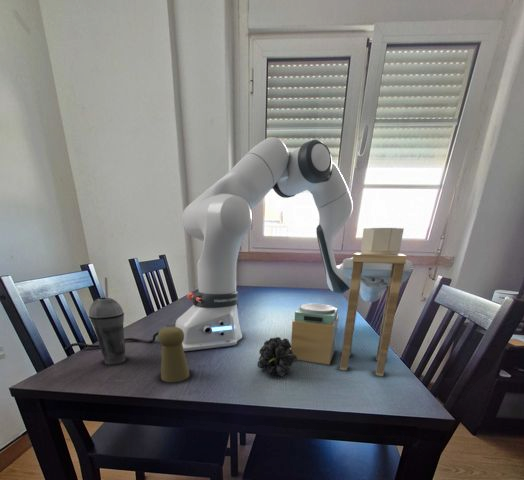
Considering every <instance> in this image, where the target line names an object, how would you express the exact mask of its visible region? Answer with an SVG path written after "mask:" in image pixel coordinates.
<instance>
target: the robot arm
mask: <svg viewBox="0 0 524 480" xmlns="http://www.w3.org/2000/svg"><path fill="white" fill-rule="evenodd" d="M272 189H273V191H274V192H275V193H276V194H277V195H278V197H281V198H284V199H289V198H294V197H295V196H297V195H299V194H302V193H304V192H305V191H308V192H309V193H310V194H311V196H312V199H313V201H314V204H315V206H316V209H317V212H318V218H319V219H318V225H317V227H316V232H315V233H316V239H317V243H318V247H319V251H320V255H321V260H322V262H323V267H324V272H325V277H326V278H325V279H326V284H327V286H328V288H329V289H330V291H331V292H332V293H334V294H339V295H343V294H344V293H346V292H348V291H350V285H351V277H352V270H353V262H352V261H353V256H352V257H350V258H349V257H348V258H347V257H346V258H344V259H343V260H342V263H340V264H339V265H337V261H336V256H335V252H334V248H333V243H334V240H335V238H336V236H337V235H338V233H339V232H340V231H341V230H342V228H343V227H344V226H345V225H346V224H347V222H348V221H349V219H350V218H351V216H352V213H353V209H354V208H353V207H354V204H353V203H354V202H353V198H352V196H351V192H350V190H349V187H348V185H347V182H346V181H345V178H344V176H343V174H342V173H341V171H340V169H339V167H338V166H337V165H336V164H335V163H334V162H333V158H332V153H331V151H330V149H329V148H328V146H327V145H326V144H325V143H324V142H323V141H321V140H320V139H311V140H308V141H306V142H304V143H303V144H302V145H301V146H300V147H297V148H296V149H295V150H293V151H292V152H291V151H289V150H288V148H287V146H286V144H285V143H284V142H283V141H282V140H281V139H280V138H278V137H274V136H269V137H267V138H265V139H263V140H261V141H259V143H257V144H256V145H255V146H253V147H252V148H251V149H250V150H249V151H248V152H246V153H245V155H243V156H242V158H241V159H240V160H239V161H238V162H237V163H236V164H235V165H234V166H233V167H232V168H231V169H230V170H229V171H227V173H226V174H225V175H223V176H222V177H221V178H220V179H218V180H217V181H215V182H214V183H213V184H212V185H210V187H208V188H207V189H206V190H205V191H204V192H202V193H201V194H200V195H199V196H197V197H196V198H195V199H194V200H193V201H191V202H190V203H189V204H188V205H187V206H186V207H185V208H184V210H183V212H182V219H181V220H182V221H181V222H182V225H183V228H184V229H185V231H186V232H187V234H188V235H190V236H191V237H193V238H194V239H197V240H199V241H202V242H203V244H202V249H201V254H200V257H199V259H198V261H197V264H196V271H197V272H196V273H197V274H196V275H197V287H198V288H197V289H198V291H197V292H196V293H192V292H188V293H187V295H186V298H187V299H188V300H190V301H192V306H190V307H189V308H188V309H186V311H185V312H183V314H181V315H180V316H179V317H178V318H177V319H176V321H175V323H170V324H166V327H165V328H167V327H178V328H180V329H181V330H182V331H183V333H184V340H183V342H182V345H183V349H184V352H189V351H197V350H198V351H199V350H207V349H208V350H209V349H216V348H223V347H232V346H236V345H237V343H238V341H240V340H241V339H242V338H243V332H242V330H241V326H240V322H239V321H240V320H239V313H238V312H239V311H238V309H239V292H238V291H237V265H238V257H239V253H240V250H241V246H242V243H243V240H244V238H245V236H246V235H247V234H248V233H249V231H250V230H251V228H252V224H253V213H252V210H254V209H255V208H256V207H257V206H258V204H259V203H260V202H261V201H262V200H263V199H264V198H265V197H266V196H267V194H268V193H270V192H271V190H272ZM391 268H392V263H370V262H363V268H362V276H361V283H360V290H359V296H360V297H361V299H362V300H363V301H364V302H367V303H374V302H375V303H376V302H377V301H379V300H380V299H381V298H382V297H383V296H384V293H385V291H386V290H388V285H389V279H390V274H391ZM412 270H413V261H412V260H406V264H404V269H403V274H402V279H401V285H400V288H401V287H402V285H403V283H405V282H406V281H407V280H408V279H409V278H410V276H411V274H412ZM158 333H159V331H157V332H155V333H154V334H153V335H152V339H149V340H143V339H139V338H135V337H126V338H125V337H124V342H126V341H127V342H128V341H134V342H140V343H149V344H151V343H154V342H155V341H156V337H158ZM77 346H80V347H86V348H100V345H99V344H89V343H83V342H74V343H70V344H68V345H66V347H64V350H65V351H66V350H67V351H68V350H69V349H72V348H73V347H77Z"/></svg>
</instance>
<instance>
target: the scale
mask: <svg viewBox="0 0 524 480" xmlns="http://www.w3.org/2000/svg"><path fill="white" fill-rule="evenodd" d="M338 310H339V307H335V306H333V305H331V304H326V303H315V302H314V303H311V302H310V303H303V304H301V305H300V306H299V308H298V309H297V310H296V311H294V319H293V320H292V323H291V341H290V344H291V348H290V349H291V350H292V352H293V355H296V357H297V360H296V361H303V362H308V363H309V362H311V363H317V364H322V365H329V366H330V364H331V362H332V359H333V357H334V354H335V352H336V343H337V342H336V341H337V336H338V326H339V317H340V316H339V315H338V312H339V311H338Z"/></svg>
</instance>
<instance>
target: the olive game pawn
mask: <svg viewBox="0 0 524 480" xmlns="http://www.w3.org/2000/svg"><path fill="white" fill-rule="evenodd" d="M166 327H167V326H166ZM166 327H163V328H161V329H160V330H159V331H158V332H159V333H158V335H157V339H158V342H159V343H160V344H161V361H160V364H161V365H160V379H161V381H163V382H165V383H178V382H182V381H185V380H187V379H188V378H189V377H190V371H189V367H188V361H187V357H186V354H185V351H184V349H183V345H182V342H183V340H184V333H183V331H182V330H181V329H180V328H178V327H167V328H166Z"/></svg>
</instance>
